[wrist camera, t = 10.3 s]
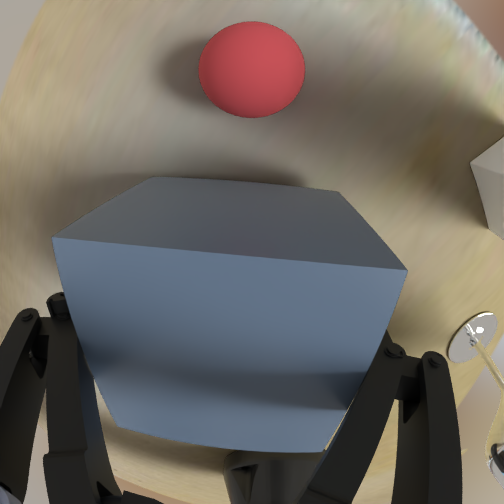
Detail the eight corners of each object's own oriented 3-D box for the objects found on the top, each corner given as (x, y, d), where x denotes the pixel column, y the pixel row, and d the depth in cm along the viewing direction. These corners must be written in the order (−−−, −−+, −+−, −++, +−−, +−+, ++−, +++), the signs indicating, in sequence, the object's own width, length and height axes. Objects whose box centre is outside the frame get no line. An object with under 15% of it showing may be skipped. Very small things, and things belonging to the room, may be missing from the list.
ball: (313, 8, 9) (300, 53, 14) (197, 3, 9) (214, 48, 14) (310, 107, 10) (295, 131, 15) (179, 99, 10) (204, 125, 15)
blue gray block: (307, 339, 19) (321, 451, 11) (162, 324, 19) (117, 426, 11) (338, 191, 15) (408, 270, 7) (151, 176, 15) (51, 236, 7)
